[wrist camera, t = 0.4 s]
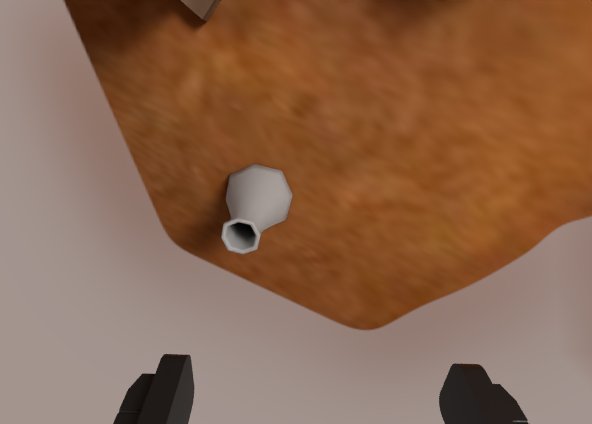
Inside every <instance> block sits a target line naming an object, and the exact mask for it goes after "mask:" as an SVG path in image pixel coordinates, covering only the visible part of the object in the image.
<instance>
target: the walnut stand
mask: <svg viewBox="0 0 592 424" xmlns="http://www.w3.org/2000/svg"><path fill="white" fill-rule="evenodd" d="M180 1H182V2H183V3H184V4H185V5H186V6H187V7H189V8H190V9H191V10H192V11H193V12H194V13H195V14H197V15H198V16H199V17H200V18H201V19H202V20H205V21H208V20H209V18H210V17H211V15H212V13H213V12H214V10H215V9H216V7H217V6H218V4H219V2H220V1H221V0H180Z"/></svg>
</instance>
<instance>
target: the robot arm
mask: <svg viewBox="0 0 592 424" xmlns="http://www.w3.org/2000/svg"><path fill="white" fill-rule="evenodd" d="M193 398H194V381H193V372H192V364H191V357H190V355H177V354H176V355H175V354H174V355H173V354H165V355H163V357H162V358H161V360H160V363H159V365H158V368H157V371H156V374H142V375H141V376H140V377H139V378H138V379H137V380H136V382H135V383H134V384H133V385H132V386H131V387H130V388H129V389H128V391H127V393H126V396H125V398H124V400H123V403H122V405H121V407H120V411H119V413H118V414H117V416H116V419H115V421H114V423H113V424H188V421H189V417H190V413H191V409H192V404H193ZM439 405H440V411H441V414H442V417H443V420H444V422H445V424H528V422H527V418H526V417H525V415H524V413H523V412H522V410H521V408H520V407H519V405H518V403H517V401H516V400H515V399H514V398H513V397H512V396H511V395H510V394H509V393H508V392H507V391H506V390H505V389H504V388H503V387H502V386H501V385H500V384H492V382H491V380H490V378H489V377H488V375H487V373H486V371H485V370H484V369H483V367H482V366H480V365H478V364H453V365H452V366H451V368H450V370H449V373H448V375H447V378H446V380H445V382H444V385H443V387H442V390H441V392H440V396H439Z"/></svg>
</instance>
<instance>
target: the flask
mask: <svg viewBox="0 0 592 424" xmlns="http://www.w3.org/2000/svg"><path fill="white" fill-rule="evenodd" d="M292 196H293V195H292V192H291V190H290V188H289V186H288V184H287V181H286V179H285V177H284V175H283V172H282V171H281V170H277V169H273V168H269V167H265V166H261V165H257V164H253V165H251V166H248V167H246V168H244V169H241V170H239V171H236V172H234V173H232V174H230V177H229V183H228V188H227V194H226V203H227V205H228V208H229V212H230V216H231V220H230V221H227V222H225V223H224V224H223V230H222V235H221V239H222V240H223V242H224V244H225V246H226V248H227V250H228V251H231V252H236V253H240V254H245V253H248V252H251V251H254V250H256V249H257V248H258V243H259V239H260V234H261V233H262V231H263V230H265V229H267V228H269V227H271V226H273V225H275V224H277V223H280V222H282V221H284V220H286V219H287V216H288V212H289V208H290V204H291V200H292Z"/></svg>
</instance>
